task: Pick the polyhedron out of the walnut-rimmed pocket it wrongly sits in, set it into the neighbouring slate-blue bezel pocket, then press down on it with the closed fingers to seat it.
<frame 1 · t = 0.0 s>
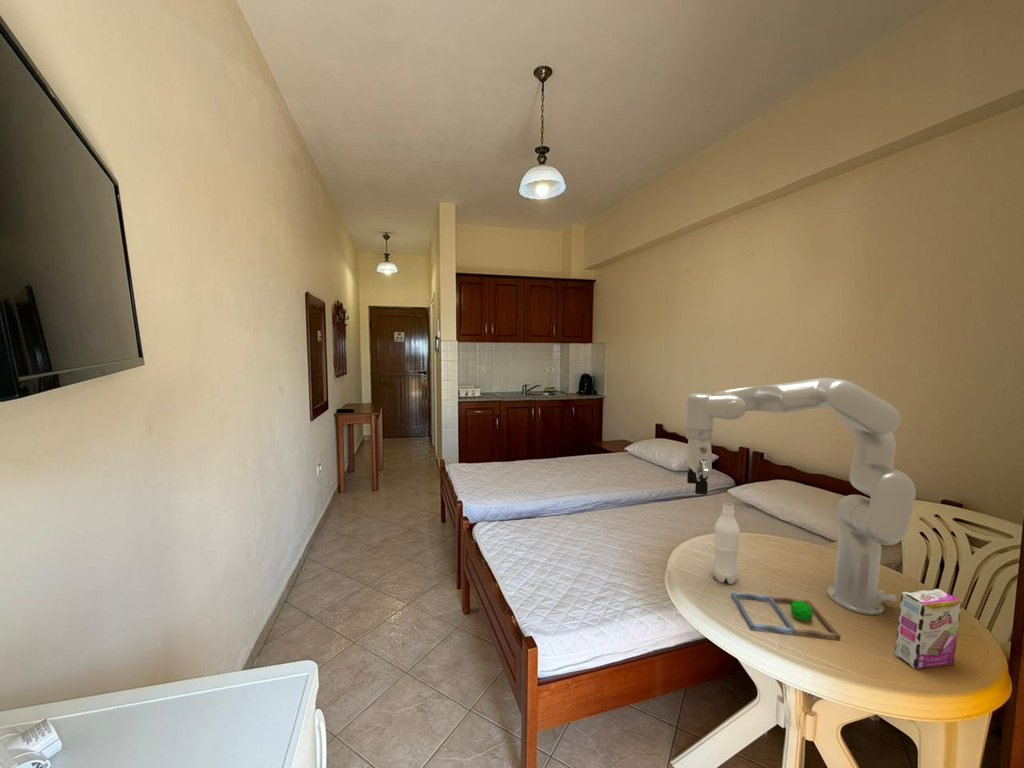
hand: (696, 488, 124), 31 cm above the table, tool pointing down, fingers open, 9 cm apart
candy bar box: (924, 661, 96), on the table
water bottle: (724, 580, 130), on the table
polyhedron: (801, 619, 111), on the table
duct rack: (781, 616, 112), on the table
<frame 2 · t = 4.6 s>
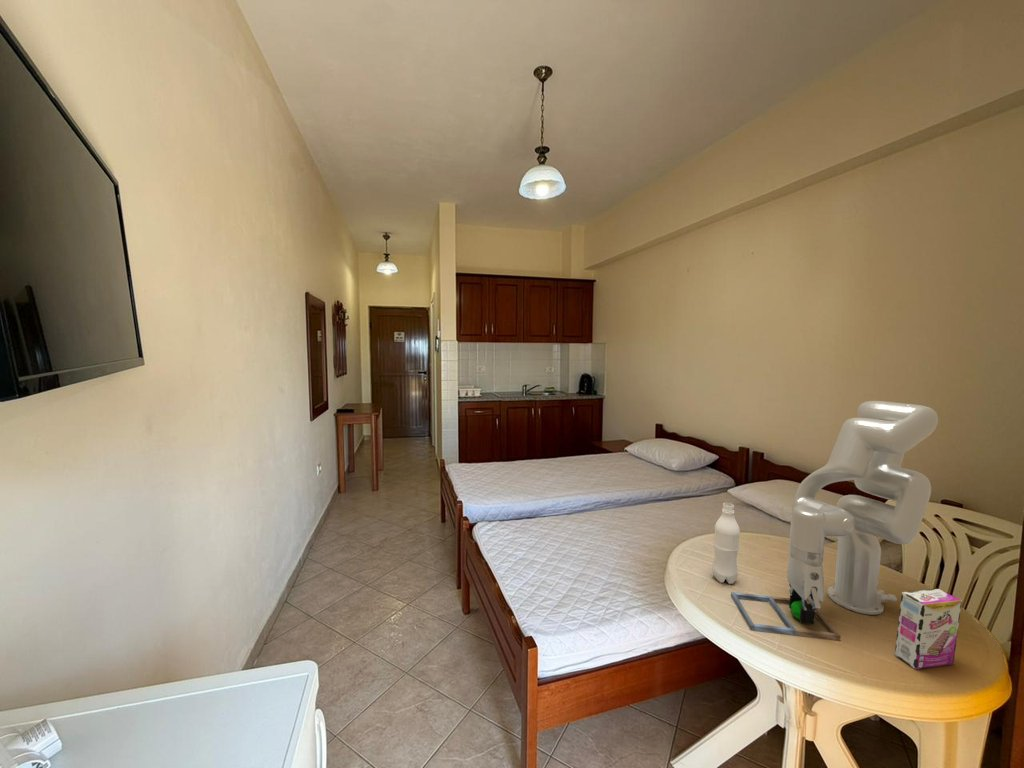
hand: (801, 615, 111), 1 cm above the table, tool pointing down, fingers closed on polyhedron, 5 cm apart
polyhedron: (801, 619, 111), on the table, touching gripper
everything else where it was.
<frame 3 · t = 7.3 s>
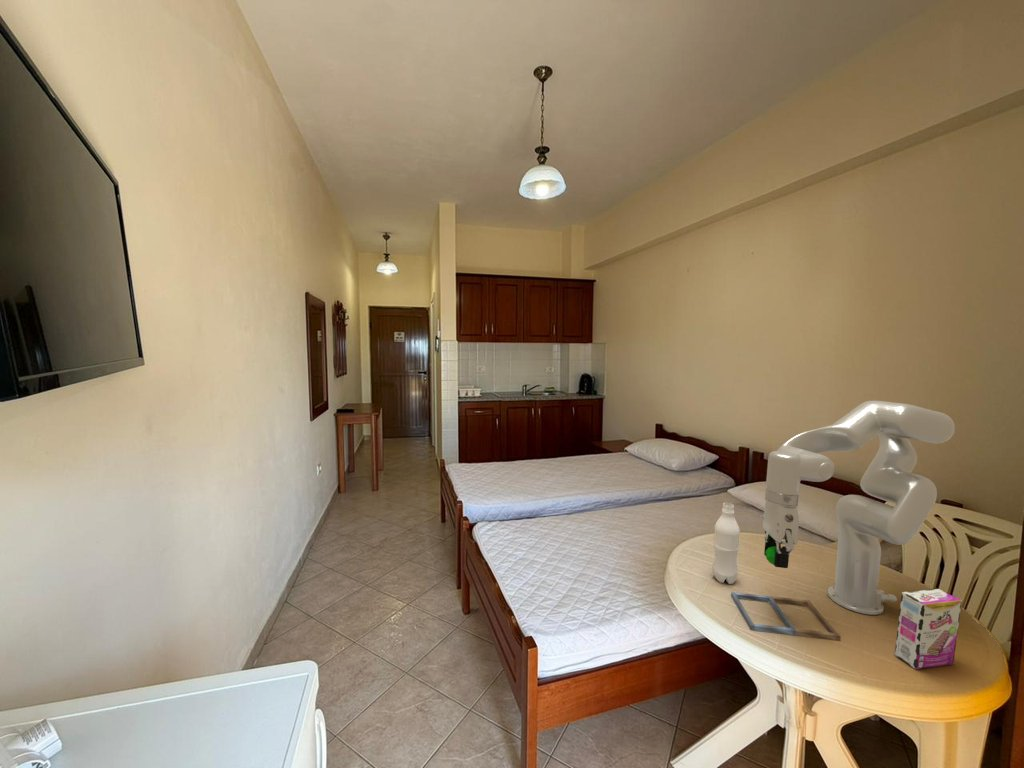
hand: (775, 560, 111), 16 cm above the table, tool pointing down, fingers closed on polyhedron, 5 cm apart
polyhedron: (775, 565, 111), point 15 cm above the table, touching gripper
everything else where it was.
when the fingers open (2 cm above the table, at t = 10.4 s): polyhedron drops 1 cm, on the table.
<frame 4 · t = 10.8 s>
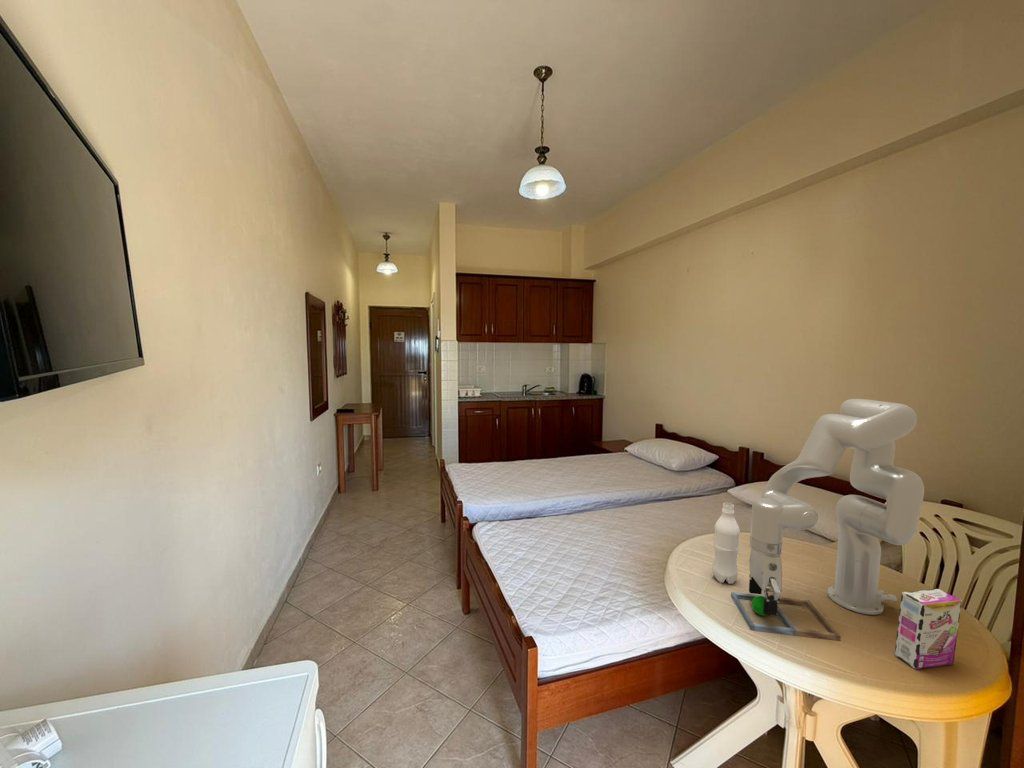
hand: (762, 603, 113), 3 cm above the table, tool pointing down, fingers open, 9 cm apart
polyhedron: (761, 614, 113), on the table
everything else where it was.
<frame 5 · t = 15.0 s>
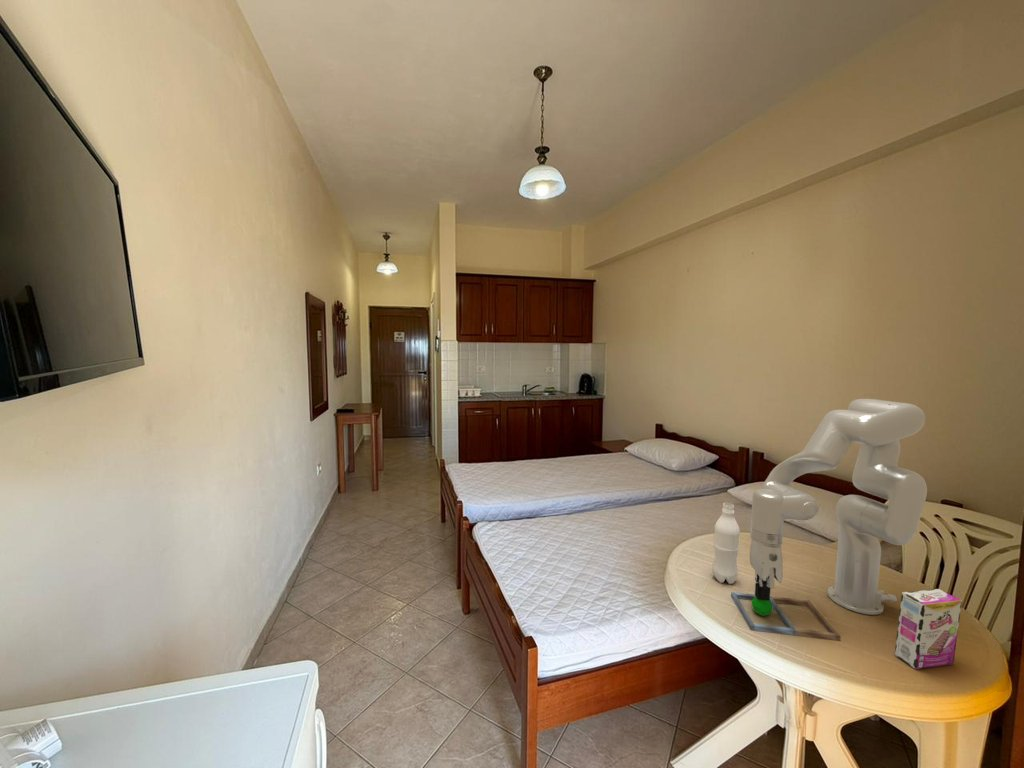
hand: (762, 598, 113), 5 cm above the table, tool pointing down, fingers closed
polyhedron: (761, 614, 113), on the table, touching gripper
everything else where it was.
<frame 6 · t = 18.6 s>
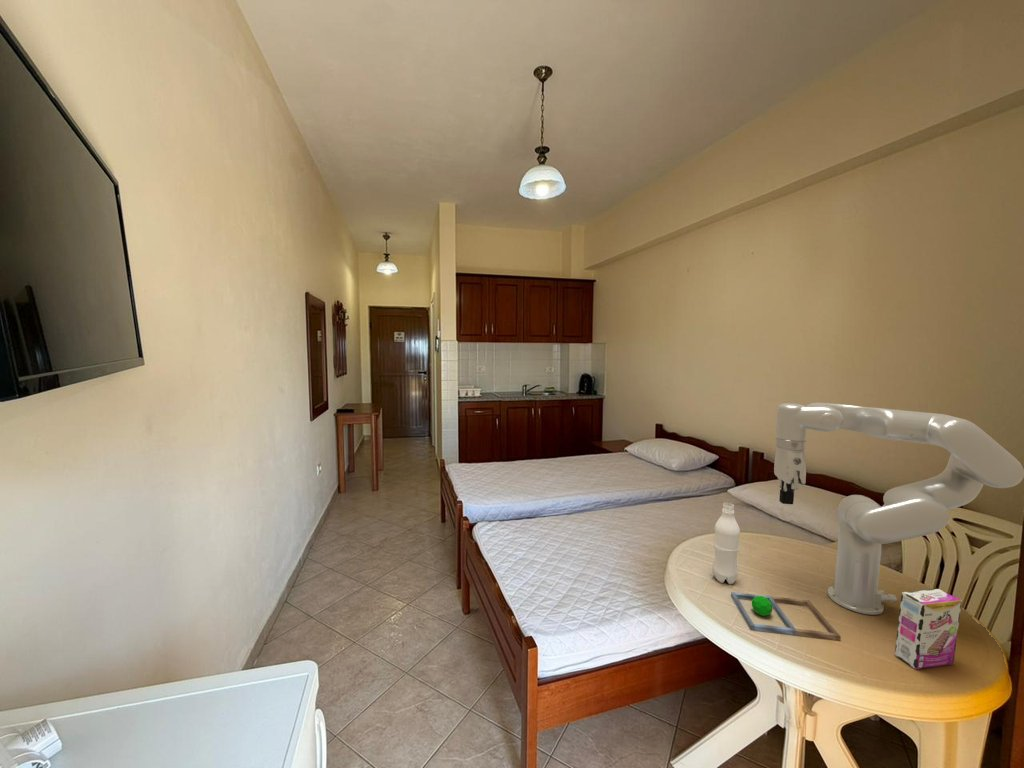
hand: (786, 502, 124), 27 cm above the table, tool pointing down, fingers closed
polyhedron: (761, 614, 113), on the table
everything else where it was.
at the end: polyhedron inside the target area on the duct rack (0.4 cm from its centre), point 0.0 cm above the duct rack's base; the gripper is holding nothing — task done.
